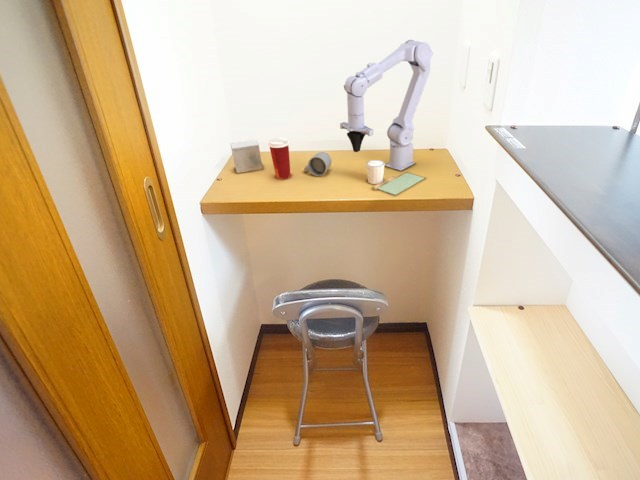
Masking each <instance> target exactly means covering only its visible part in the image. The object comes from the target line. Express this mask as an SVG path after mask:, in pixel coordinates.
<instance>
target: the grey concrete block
mask: <svg viewBox="0 0 640 480" xmlns="http://www.w3.org/2000/svg"><path fill="white" fill-rule="evenodd" d="M230 148H231V154H232V158H233V162H234V163H233V164H234V168H235V171H236V174H241V173H246V172H254V171H260V170H264V169H263V163H262V157H261V150H260V144H259V142H258V140H257V139H252V140H243V141H235V142H230Z"/></svg>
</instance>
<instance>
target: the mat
mask: <svg viewBox="0 0 640 480" xmlns="http://www.w3.org/2000/svg"><path fill="white" fill-rule="evenodd" d="M424 179H425V177H422V176H420V175H416V174H413V173H409V172H406V173H403V174H402V175H400V176H398V177H396V179H394V180H392V181H390V182H388V183H387V184H385V185H383V186H381V187H379V188H377V189H376V190H379V191H381V192H384V193H387V194H390V195H392V196H397V195H398V194H400V193H402V192H403V191H405V190H407V189H409V188H410V187H412V186H414V185H416V184H418V183H419V182H421V181H423V180H424Z"/></svg>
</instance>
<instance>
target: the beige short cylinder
mask: <svg viewBox="0 0 640 480" xmlns="http://www.w3.org/2000/svg"><path fill="white" fill-rule="evenodd" d="M385 165H386V163H385V161H383V160H381V159H371V160H368V161H366V162H365V167H366V176H367V182H368V183H369V184H372V185H377V184H379V183H381V182H383V181H384V174H385Z"/></svg>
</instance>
